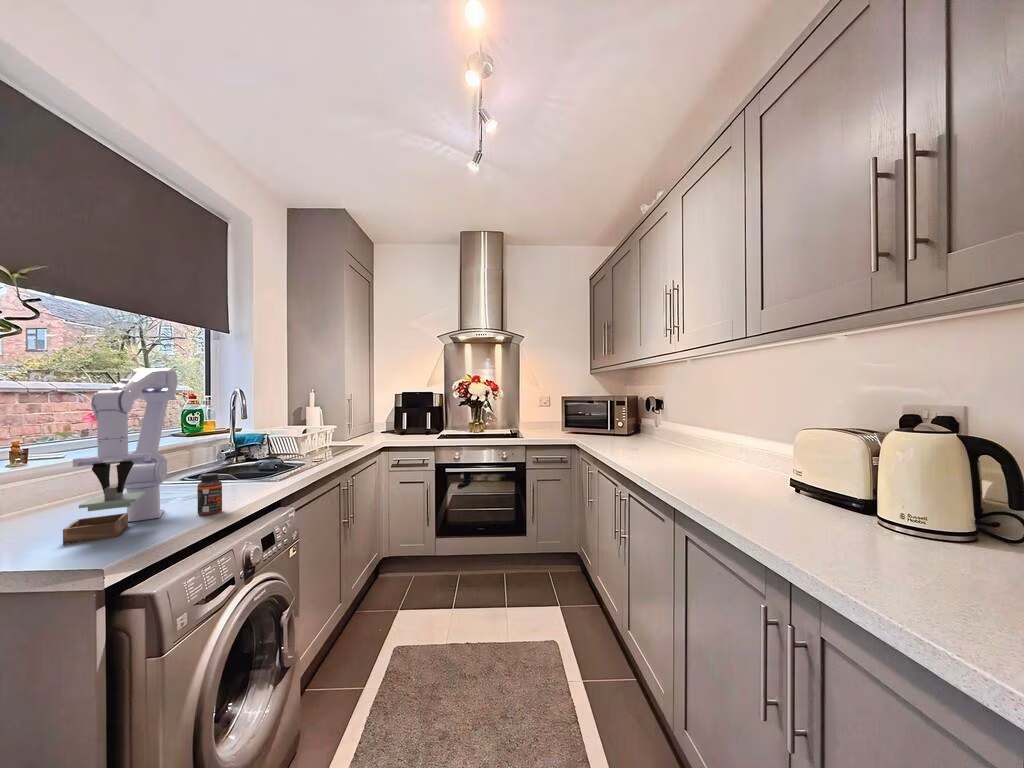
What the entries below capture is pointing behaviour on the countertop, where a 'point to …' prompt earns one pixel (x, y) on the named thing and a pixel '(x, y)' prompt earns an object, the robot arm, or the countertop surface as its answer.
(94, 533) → the box
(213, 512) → the supplement bottle
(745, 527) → the countertop surface
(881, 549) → the countertop surface
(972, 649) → the countertop surface
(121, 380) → the robot arm
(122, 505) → the lid
